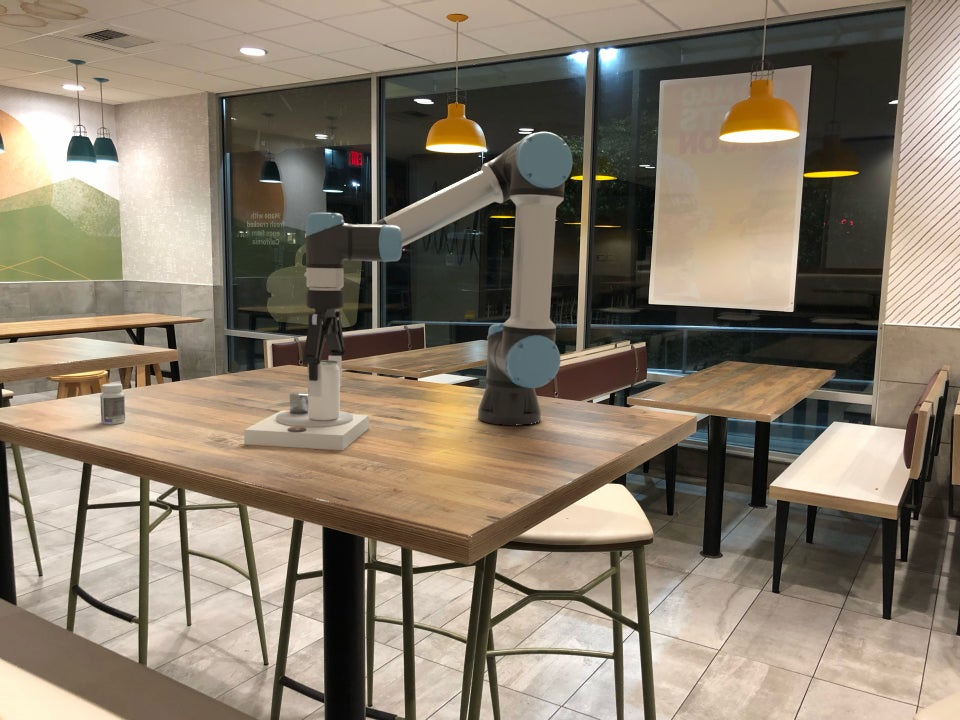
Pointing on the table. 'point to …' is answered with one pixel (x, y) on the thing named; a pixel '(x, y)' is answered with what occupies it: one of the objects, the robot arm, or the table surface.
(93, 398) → the table surface
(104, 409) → the pill bottle
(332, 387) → the can
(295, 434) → the scale
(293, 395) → the cylinder
